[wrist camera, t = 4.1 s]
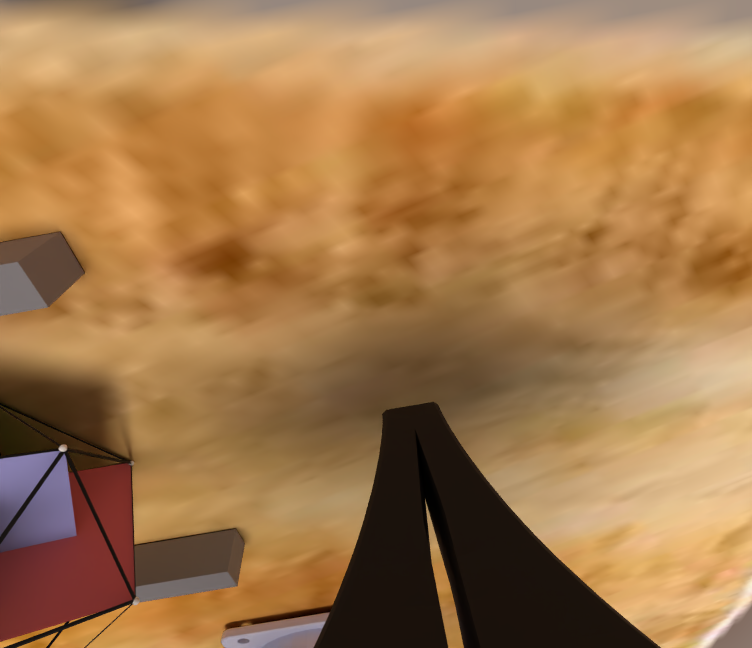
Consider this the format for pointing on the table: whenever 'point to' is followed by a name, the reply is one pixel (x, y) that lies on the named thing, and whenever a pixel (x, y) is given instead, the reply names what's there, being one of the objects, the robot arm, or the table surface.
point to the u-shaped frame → (152, 561)
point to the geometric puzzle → (63, 540)
